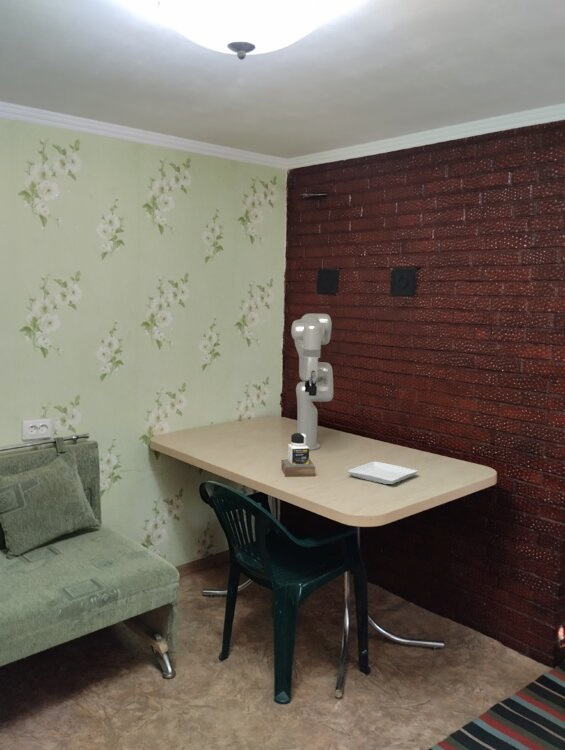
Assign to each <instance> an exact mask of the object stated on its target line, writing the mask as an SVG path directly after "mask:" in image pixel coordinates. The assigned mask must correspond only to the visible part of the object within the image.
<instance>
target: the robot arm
mask: <svg viewBox="0 0 565 750" xmlns="http://www.w3.org/2000/svg"><path fill="white" fill-rule="evenodd" d="M332 325H333V324H332V319H331V317H330V315H329V314H327V313H306V314H304V315H303V316H301V318H300V319H296V320H294V321H293V322H292V325H291V331H290V332H291V337H292V339H293V340H294V345H295V349H296V352H297V354H298V357H299V358H298V361H299V363H298V364H299V365H298V375H299V378H300V380H301V381H299V382H298V383H297V385H296V387H295V392H296V393H295V394H296V401H297V402H296V403H297V405H296V406H297V410H296V411H297V413H296V414H297V418H296V419H297V421H296V422H297V423H296V433H302V434H305V435H306V444H305V445H307V446H308V447H309V451H314V450H319V448H320V447H321V444H320V443H319V442H318V415H319V413H318V409H317V407H316V405H314V402H319V403H320V402H322V403H323V402H325V403H327V402H330V401H332V400H333V398H334V377H333V376H334V375H333V367H332V365H331V364H330V363H329V362H325V361H323V362H321V361H319V358H321V352H322V351H321V349H322V345H323V346H325V345H327V344H329V342H330V340H331V334H332Z"/></svg>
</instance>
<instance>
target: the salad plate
mask: <svg viewBox="0 0 565 750" xmlns="http://www.w3.org/2000/svg"><path fill="white" fill-rule="evenodd" d="M418 471H419V470H417V469H413V468H408V467H404V466H400V465H395V464H391V463H385V462H380V461H371V462H370V461H369V462H368V463H365V464H362V465H358V466H356V467H354V468H351V469H348V470H347V473H348V474H350V476H353V477H355V478H358V479H361V480H364V479H365V480H364V481H369V482H372V481H373V483H377V482H378V484H381V483H383V484H382V485H386V484H391V485H394V484H396V482H397V483H399V482H402V481H404V480H406V479H408V478H411V477H413V476H415V475H416V474H417V473H418ZM401 480H402V481H401Z"/></svg>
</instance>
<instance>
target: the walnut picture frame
mask: <svg viewBox="0 0 565 750" xmlns="http://www.w3.org/2000/svg"><path fill="white" fill-rule="evenodd" d="M280 466H281V468H280V469H281V471H282V473H283V474H284V477H285V478H288V477H289V478H291V477H292V478H293V477H294V478H296V477H297V478H298V477H316V467H315V465H314V463H313V462H312V461H311V459H309V464H308V465H292V464H291V463H290V462H289V461H288V458H287V459H281V465H280Z"/></svg>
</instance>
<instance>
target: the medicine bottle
mask: <svg viewBox="0 0 565 750" xmlns="http://www.w3.org/2000/svg"><path fill="white" fill-rule="evenodd" d="M290 441H291V442H290V443H288V444H287V459H288V461H289V462H290V463H291V464H292V465H308V464H309V460H310V450H309V447H308V446H307V445H305V444H306V435H305V434H302V433H297V432H295V433H293V434H291V439H290Z"/></svg>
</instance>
